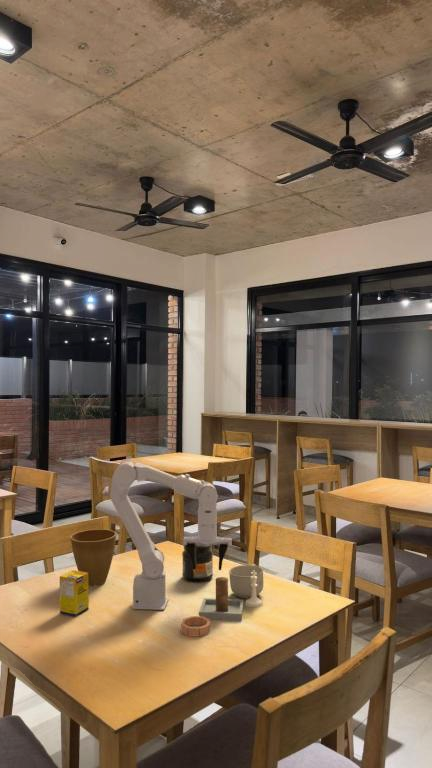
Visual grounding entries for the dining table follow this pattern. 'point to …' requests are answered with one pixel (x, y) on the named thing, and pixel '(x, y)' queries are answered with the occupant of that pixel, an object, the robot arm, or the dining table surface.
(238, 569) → the teacup
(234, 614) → the tray
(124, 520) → the robot arm
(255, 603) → the chess piece
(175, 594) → the dining table surface
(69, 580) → the supplement box
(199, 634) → the ring holder
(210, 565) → the supplement container
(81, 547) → the plant pot
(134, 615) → the dining table surface
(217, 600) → the dowel
